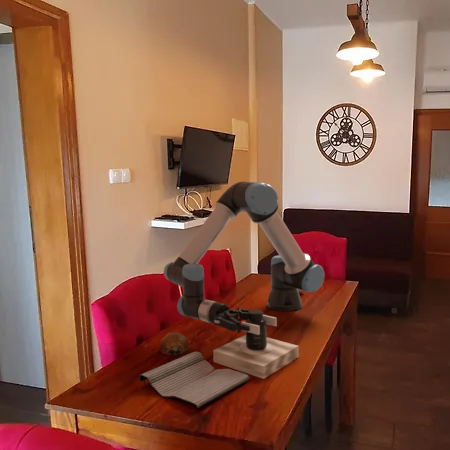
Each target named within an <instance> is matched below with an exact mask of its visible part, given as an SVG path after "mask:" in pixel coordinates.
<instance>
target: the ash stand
mask: <svg viewBox="0 0 450 450" xmlns="http://www.w3.org/2000/svg"><path fill="white" fill-rule="evenodd" d="M299 347H300V345H296V344H293V343H290V342H285V341H281V340H279V339H274V338H271V337H267V346H266V348H265V349H263V350H250V349H248V348H247V347H246V334H245V335H242V336H240V337H239V338H238V337H237V338H236V339H233V340H232V341H230V342H228V343H225V344H224V345H222V346H219V347H218V348H215V349H213V350H212V351H213V352H212V354H213V355H212V356H213V359H212V360H213V363H214V364H215V363H216V364H219V365H222V366H225V367H228V368H229V369H232V370H235V371H238V372H241V373H244V374H247V375H250V376H253V377H256V378H260V379H264V380H265V379H266V378H267V377H270V376H271V375H272V374H274V373H276V372H278V371H279V370H280V369H282V368H284V367H285V366H287V365H289V364H290V363H292V362H294V361H296V360H297V359H298V358H299V356H300V355H299V352H300V351H299ZM296 358H297V359H296ZM293 360H294V361H293Z"/></svg>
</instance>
